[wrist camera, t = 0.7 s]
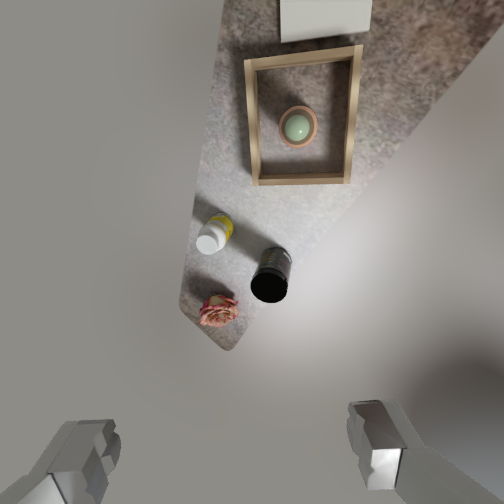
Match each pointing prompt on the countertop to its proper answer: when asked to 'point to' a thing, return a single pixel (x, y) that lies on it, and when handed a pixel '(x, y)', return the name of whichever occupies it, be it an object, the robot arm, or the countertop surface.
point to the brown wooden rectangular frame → (356, 57)
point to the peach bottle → (298, 126)
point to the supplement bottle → (215, 233)
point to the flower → (218, 311)
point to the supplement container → (272, 276)
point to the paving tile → (323, 18)
